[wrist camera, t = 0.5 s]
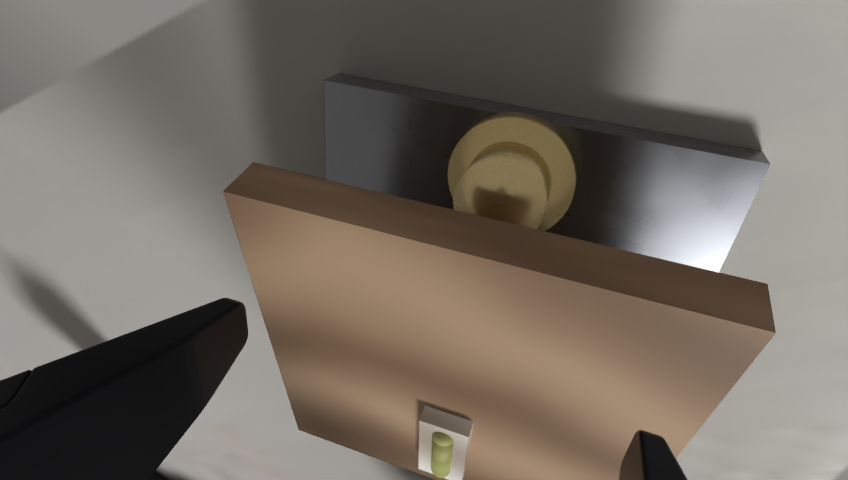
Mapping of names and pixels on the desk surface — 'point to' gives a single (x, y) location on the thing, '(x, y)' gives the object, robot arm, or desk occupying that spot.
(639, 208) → the base
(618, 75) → the desk surface
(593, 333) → the top plate
